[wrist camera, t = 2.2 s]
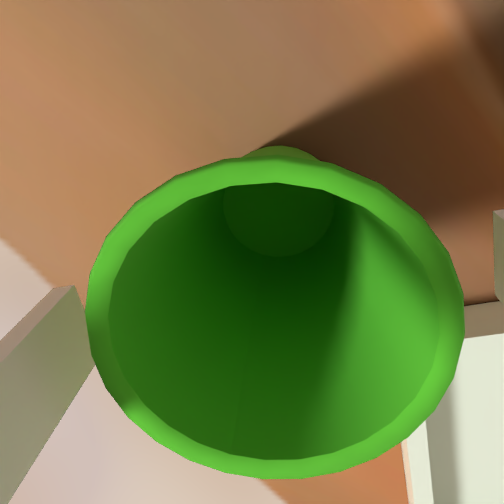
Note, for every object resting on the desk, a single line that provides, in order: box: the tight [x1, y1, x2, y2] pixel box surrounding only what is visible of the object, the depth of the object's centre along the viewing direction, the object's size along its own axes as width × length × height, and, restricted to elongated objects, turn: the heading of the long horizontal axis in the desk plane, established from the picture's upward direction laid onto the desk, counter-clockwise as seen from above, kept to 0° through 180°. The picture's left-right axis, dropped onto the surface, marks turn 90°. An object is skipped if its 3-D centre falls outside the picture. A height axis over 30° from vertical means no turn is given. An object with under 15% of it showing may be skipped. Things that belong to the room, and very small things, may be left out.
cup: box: [85, 146, 465, 479], centre depth 16 cm, size 9×9×11 cm
